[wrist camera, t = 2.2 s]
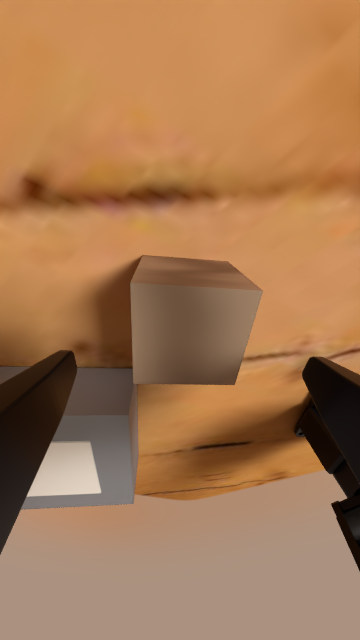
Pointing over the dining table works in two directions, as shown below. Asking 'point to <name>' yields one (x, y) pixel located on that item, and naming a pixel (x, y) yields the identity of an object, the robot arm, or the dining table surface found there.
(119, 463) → the plinth
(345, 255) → the dining table surface
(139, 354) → the walnut cube
